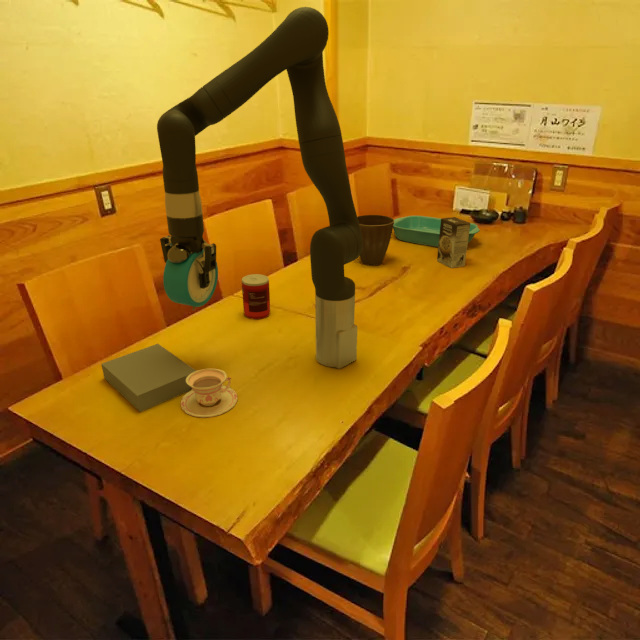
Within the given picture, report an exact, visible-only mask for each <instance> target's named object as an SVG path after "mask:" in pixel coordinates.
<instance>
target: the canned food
mask: <svg viewBox="0 0 640 640" xmlns="http://www.w3.org/2000/svg"><path fill="white" fill-rule="evenodd" d="M241 293H242V302H243V304H242V305H243V314H244V316H245V317H246V318H248V319H252V320H261V319H265V318H267V317H269V316H270V314H271V296H270V294H271V293H270V280H269V276H267V275H265V274H260V273H256V274H255V273H252V274H247V275H244V276H243V277H242V278H241Z"/></svg>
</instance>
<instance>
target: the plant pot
mask: <svg viewBox="0 0 640 640" xmlns="http://www.w3.org/2000/svg"><path fill="white" fill-rule="evenodd" d="M357 218H358V221H359V225H360V229H361V233H362V239H363V248H362V252H361V254H360V256H359V258H360V261H361V263H362V264H363V265H366V266H370V267H371V266H372V267H373V266H379V265H381V264H382V263H383V261H384V258H385V256H386V254H387V251H388V248H389V245H390V241H391V238H392V234H393V231H394V230H393V225H394V218H393V217H390V216H388V215H387V216H386V215H382V214H381V215H380V214H365V215H363V214H362V215H359V216H358V215H357Z"/></svg>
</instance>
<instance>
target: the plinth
mask: <svg viewBox="0 0 640 640" xmlns="http://www.w3.org/2000/svg"><path fill="white" fill-rule="evenodd" d="M100 365H101V369H102V373H103V377H104V378H103V379H104V380H105V381H106V382H107V383H109V384H110V385H111V387H113V388H114V389H115V390H116V391H117V392H118V393H119V394H120V395H121V396H122V397H123V398H124V399H126V400H127V401H128V402H129V403H130V404H131V405H132V406H133V407H134V408H135V409H136V410H137V411H139V412H140V413H142V412H144V411H146V410H148V409H152V408H153V407H156V406H157V405H160V404H162V403H164V402H166V401H169V400H172V399H174V398H176V397H178V396H181V395H183V394H186V393H188V392H189V391H191V390H193V389H192V388H191V387H190V386H189V385H188V384H187V383H186V378H187V376H188V375H190V374H191V373H193V372H195V371H197V369H194V368H193V367H192V366H190V365H189V364H188V363H186V362H185V361H183V360H182V359H181V358H179V357H178V356H177V355H175V354H174V353H172V352H170V351H169V350H168V349H166V348H165V347H164V346H163V345H161V344H159V343H156V344H153V345H150V346H147V347H145V348H142V349H139V350H136V351H133V352H130V353H127V354H124V355H122V356H119V357H115V358H113V359H111V360H108V361H106V362H102V363H101V364H100Z"/></svg>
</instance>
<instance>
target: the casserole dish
mask: <svg viewBox="0 0 640 640" xmlns="http://www.w3.org/2000/svg"><path fill="white" fill-rule="evenodd" d="M393 219H394V218H393ZM441 219H442V218H439V217H433V216H425V215H408V216H407V215H406V216H403V217H397V218H395V219H394V225H393V230H392V231H393V233H394V236H395V237H396V239H398V240H400V241H402V242H407V243H413V244H417V245H421V246H428V247H433V248H434V247H435V248H438V245H439V235H440V225H441ZM469 223H470V231H469V238H468V244H469V243H470V242H472V240H473V239H474V237H475V235H476V234H478V233H479V232H480V228H479V226H478V225H477V224H475V223H474V222H473V223H472V222H469Z"/></svg>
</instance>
